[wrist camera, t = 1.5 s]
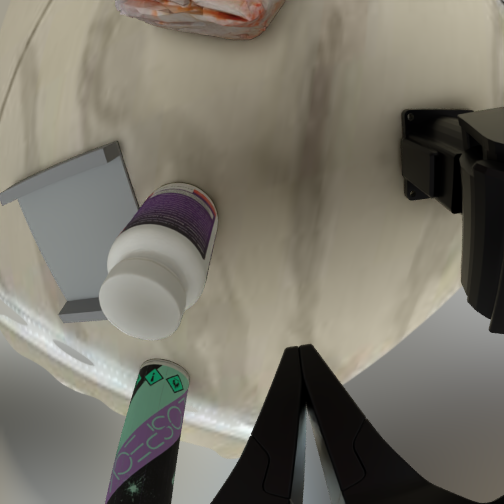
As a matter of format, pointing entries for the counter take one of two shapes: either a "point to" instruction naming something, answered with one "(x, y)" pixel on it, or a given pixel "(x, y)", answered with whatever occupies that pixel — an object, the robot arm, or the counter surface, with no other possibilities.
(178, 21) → the food item
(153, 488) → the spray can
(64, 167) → the tray
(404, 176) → the robot arm
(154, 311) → the pill bottle
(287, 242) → the counter surface
